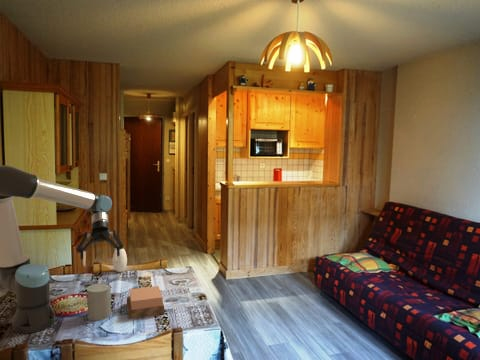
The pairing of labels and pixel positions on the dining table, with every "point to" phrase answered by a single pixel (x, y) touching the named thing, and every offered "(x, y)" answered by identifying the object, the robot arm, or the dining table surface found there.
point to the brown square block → (145, 298)
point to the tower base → (143, 311)
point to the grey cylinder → (99, 301)
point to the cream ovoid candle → (120, 261)
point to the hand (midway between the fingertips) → (100, 264)
